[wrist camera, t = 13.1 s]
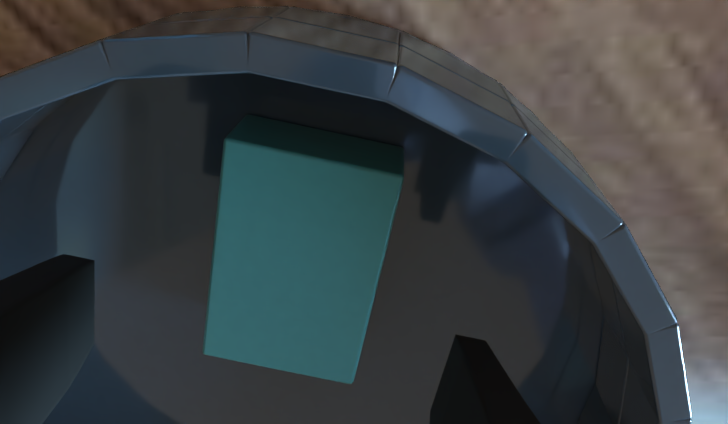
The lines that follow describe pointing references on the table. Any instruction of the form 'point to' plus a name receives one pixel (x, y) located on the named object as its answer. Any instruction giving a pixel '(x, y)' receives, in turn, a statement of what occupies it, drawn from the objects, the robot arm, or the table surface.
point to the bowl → (405, 246)
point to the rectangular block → (299, 246)
